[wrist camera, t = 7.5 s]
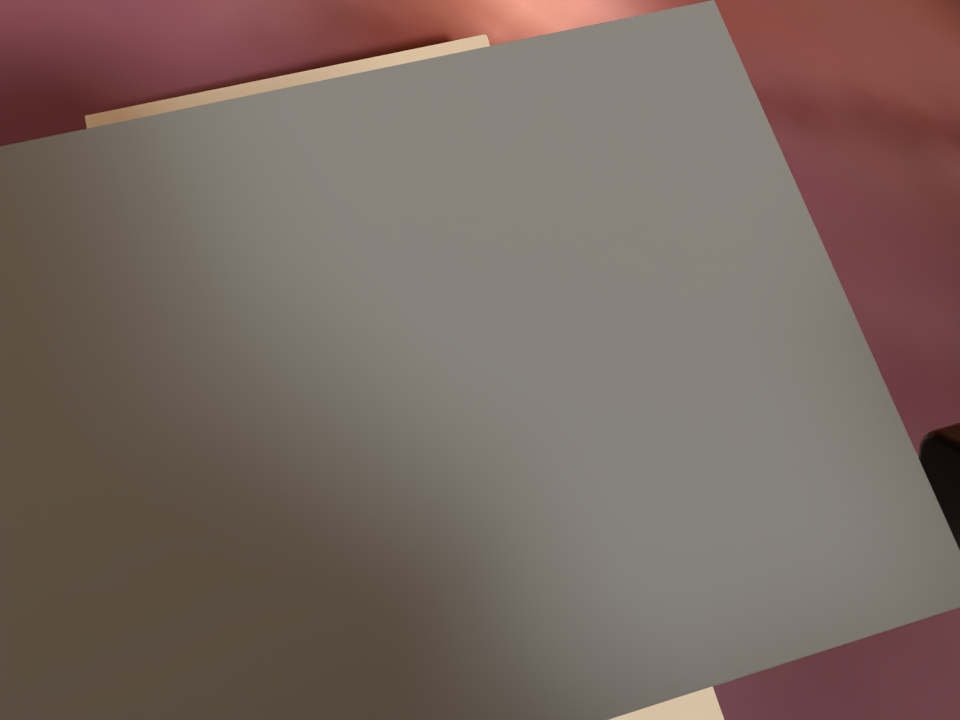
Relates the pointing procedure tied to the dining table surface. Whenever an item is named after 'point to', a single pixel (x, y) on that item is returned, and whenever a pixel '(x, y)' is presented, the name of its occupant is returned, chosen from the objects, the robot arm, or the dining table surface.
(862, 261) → the dining table surface
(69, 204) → the stub
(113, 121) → the pad
